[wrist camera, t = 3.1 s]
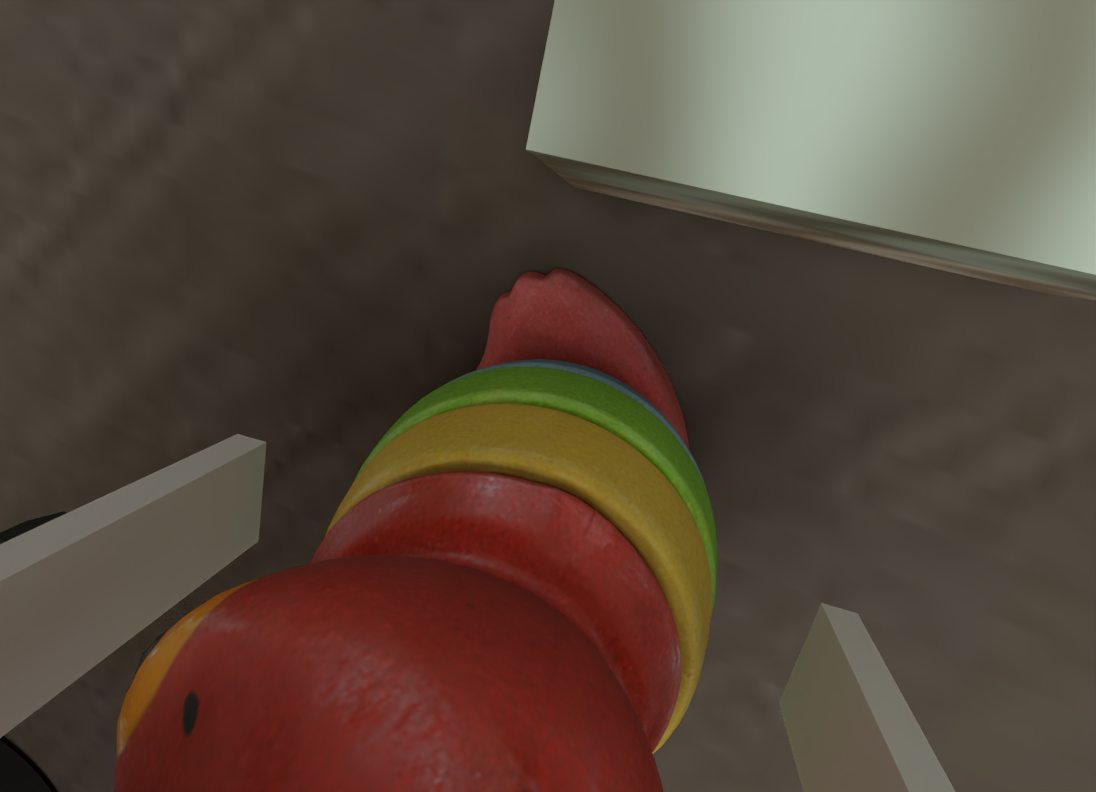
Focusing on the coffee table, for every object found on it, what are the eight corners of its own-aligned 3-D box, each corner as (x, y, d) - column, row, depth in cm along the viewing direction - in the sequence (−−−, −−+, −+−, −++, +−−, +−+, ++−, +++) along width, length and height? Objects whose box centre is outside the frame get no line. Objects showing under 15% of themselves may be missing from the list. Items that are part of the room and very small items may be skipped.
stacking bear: (544, 241, 20) (-107, 225, 3) (765, 432, 20) (1444, 1485, 3) (373, 459, 23) (-418, 1091, 6) (567, 620, 23) (361, 1644, 6)
